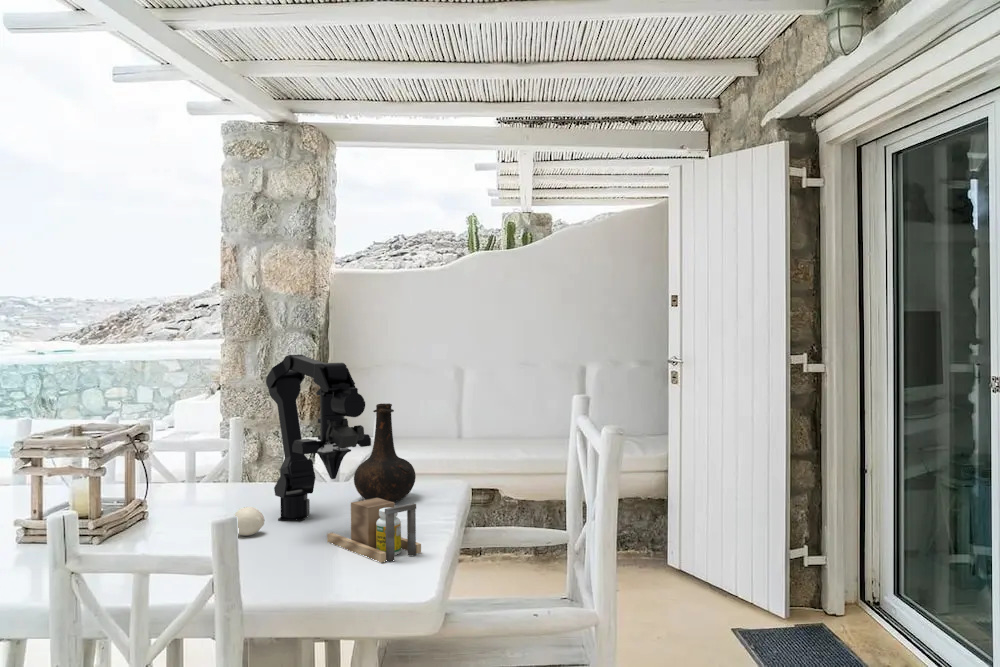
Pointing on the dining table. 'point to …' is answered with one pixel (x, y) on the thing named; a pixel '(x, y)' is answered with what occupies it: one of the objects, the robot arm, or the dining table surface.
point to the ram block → (366, 519)
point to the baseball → (249, 520)
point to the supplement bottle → (382, 532)
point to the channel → (389, 555)
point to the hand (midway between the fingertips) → (333, 478)
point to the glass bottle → (384, 464)
